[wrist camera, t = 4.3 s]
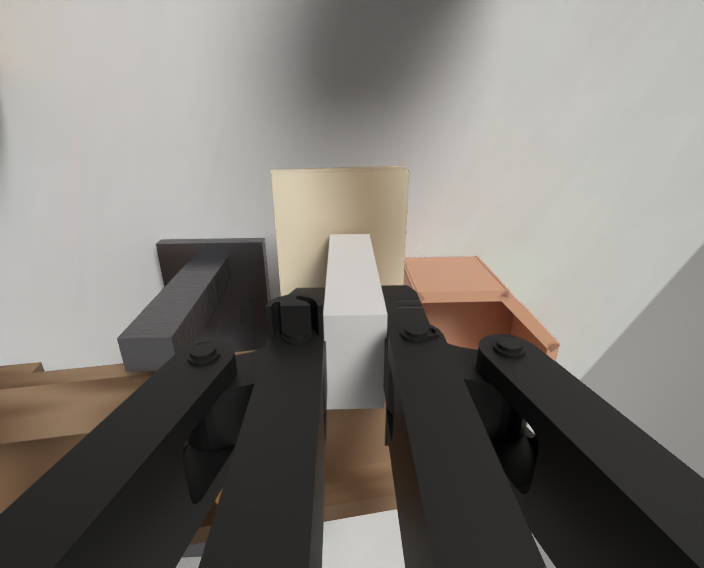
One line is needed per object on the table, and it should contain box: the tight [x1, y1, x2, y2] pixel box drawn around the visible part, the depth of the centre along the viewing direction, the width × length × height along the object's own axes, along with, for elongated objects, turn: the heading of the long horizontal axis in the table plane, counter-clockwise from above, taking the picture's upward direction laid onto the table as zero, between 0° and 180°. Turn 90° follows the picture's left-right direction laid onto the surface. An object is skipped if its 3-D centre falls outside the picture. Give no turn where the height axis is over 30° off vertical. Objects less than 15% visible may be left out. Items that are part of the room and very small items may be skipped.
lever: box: [0, 166, 409, 545], centre depth 18 cm, size 20×16×6 cm
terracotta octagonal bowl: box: [403, 256, 560, 426], centre depth 25 cm, size 11×11×5 cm
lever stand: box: [117, 238, 270, 557], centre depth 23 cm, size 6×14×10 cm, turn 0°
